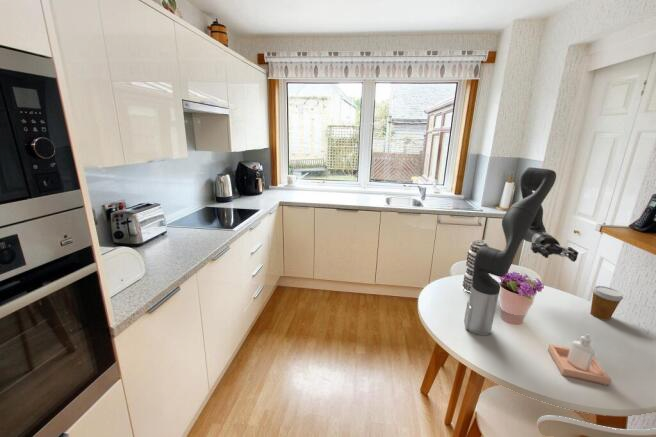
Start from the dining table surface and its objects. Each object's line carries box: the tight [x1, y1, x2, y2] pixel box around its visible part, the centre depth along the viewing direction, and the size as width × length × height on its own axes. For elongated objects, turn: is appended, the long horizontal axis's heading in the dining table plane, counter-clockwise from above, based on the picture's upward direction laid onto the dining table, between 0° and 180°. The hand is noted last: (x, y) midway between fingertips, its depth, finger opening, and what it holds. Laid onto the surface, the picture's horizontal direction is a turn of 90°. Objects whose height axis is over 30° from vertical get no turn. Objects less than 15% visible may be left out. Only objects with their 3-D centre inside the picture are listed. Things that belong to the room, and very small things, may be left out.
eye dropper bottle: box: [567, 333, 595, 371], centre depth 95 cm, size 4×6×12 cm
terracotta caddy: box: [547, 343, 611, 386], centre depth 97 cm, size 12×12×2 cm
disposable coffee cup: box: [590, 285, 624, 321], centre depth 124 cm, size 10×10×12 cm
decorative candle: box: [462, 240, 490, 292], centre depth 140 cm, size 9×9×25 cm
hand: (560, 257), depth 109 cm, fingers open, 8 cm apart
